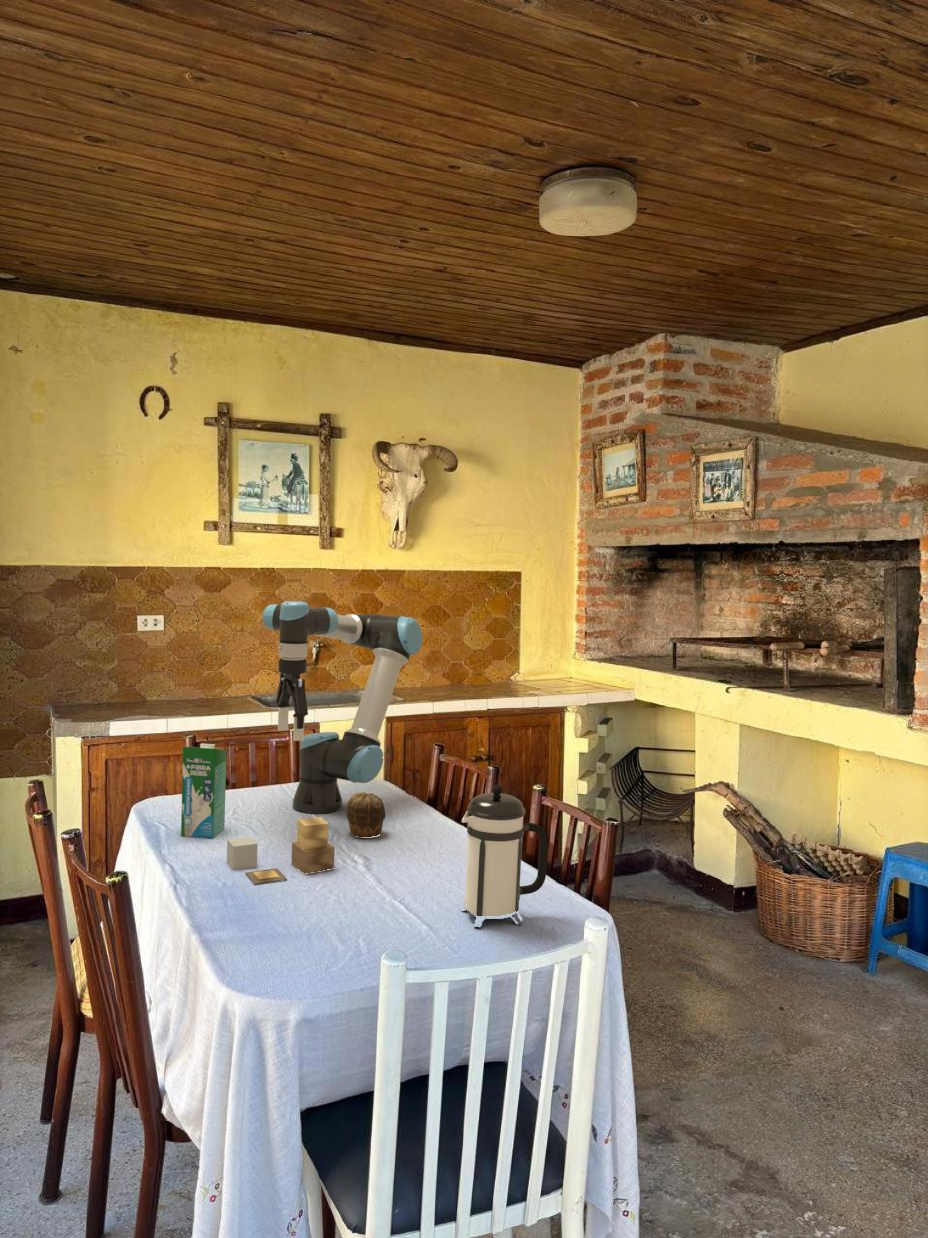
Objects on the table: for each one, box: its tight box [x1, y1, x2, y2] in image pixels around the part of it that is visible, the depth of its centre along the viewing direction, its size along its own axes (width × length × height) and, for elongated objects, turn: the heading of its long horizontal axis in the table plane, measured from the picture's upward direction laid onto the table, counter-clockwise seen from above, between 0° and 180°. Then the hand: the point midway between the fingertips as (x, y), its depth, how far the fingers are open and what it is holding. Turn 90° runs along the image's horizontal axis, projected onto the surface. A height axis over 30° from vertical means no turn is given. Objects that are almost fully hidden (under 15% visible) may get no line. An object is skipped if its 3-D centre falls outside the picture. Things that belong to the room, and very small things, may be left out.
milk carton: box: [180, 743, 227, 839], centre depth 253 cm, size 9×9×25 cm
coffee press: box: [461, 784, 549, 916], centre depth 203 cm, size 17×16×30 cm
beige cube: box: [226, 836, 258, 871], centre depth 230 cm, size 6×6×6 cm
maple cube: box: [296, 816, 329, 850], centre depth 230 cm, size 6×6×6 cm
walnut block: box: [290, 841, 336, 874], centre depth 230 cm, size 8×8×6 cm
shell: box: [346, 791, 386, 837], centre depth 258 cm, size 11×11×12 cm
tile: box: [245, 867, 288, 886], centre depth 222 cm, size 8×8×1 cm
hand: (290, 735), depth 251 cm, fingers open, 13 cm apart
